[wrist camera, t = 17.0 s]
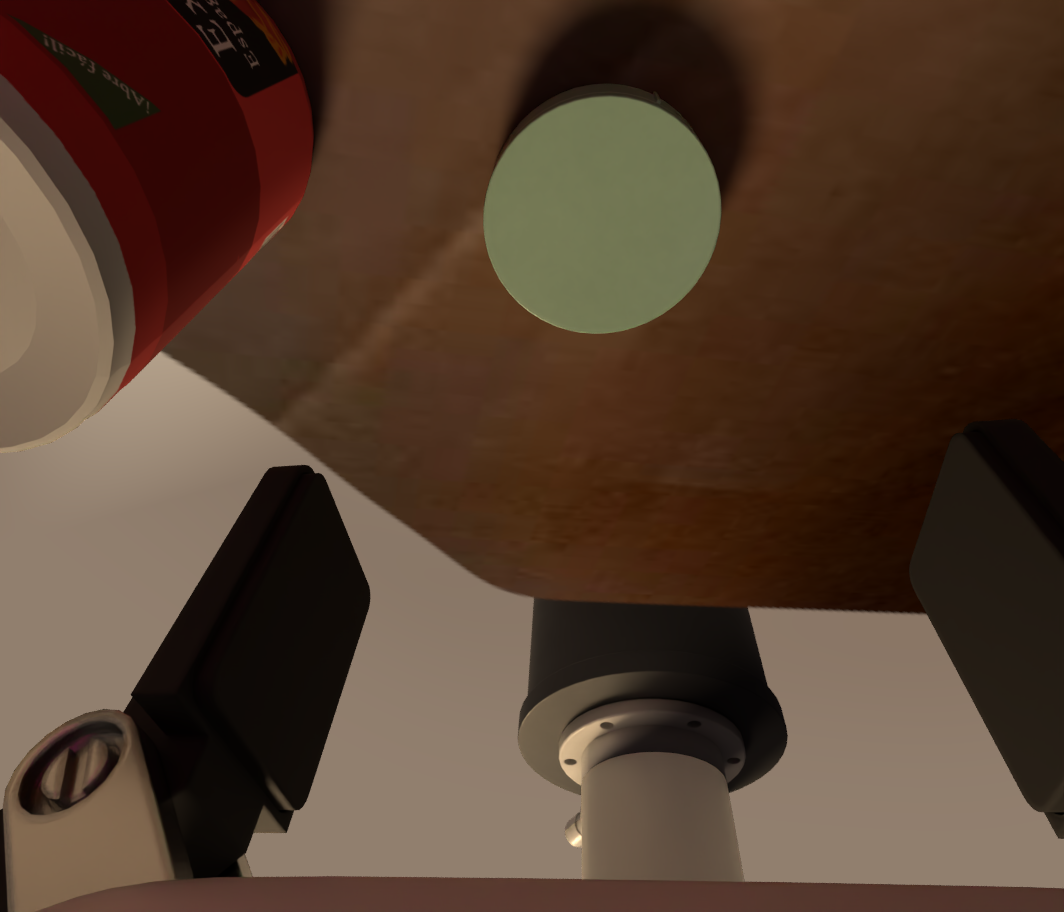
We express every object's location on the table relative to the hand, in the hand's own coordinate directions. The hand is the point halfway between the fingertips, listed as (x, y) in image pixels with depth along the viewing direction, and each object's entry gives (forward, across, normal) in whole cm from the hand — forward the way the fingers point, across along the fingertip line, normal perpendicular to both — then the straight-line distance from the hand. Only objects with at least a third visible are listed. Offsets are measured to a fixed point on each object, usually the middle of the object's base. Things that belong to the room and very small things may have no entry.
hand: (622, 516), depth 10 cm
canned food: (+13, +11, -5) cm, 18 cm away
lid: (+11, 0, -1) cm, 11 cm away
